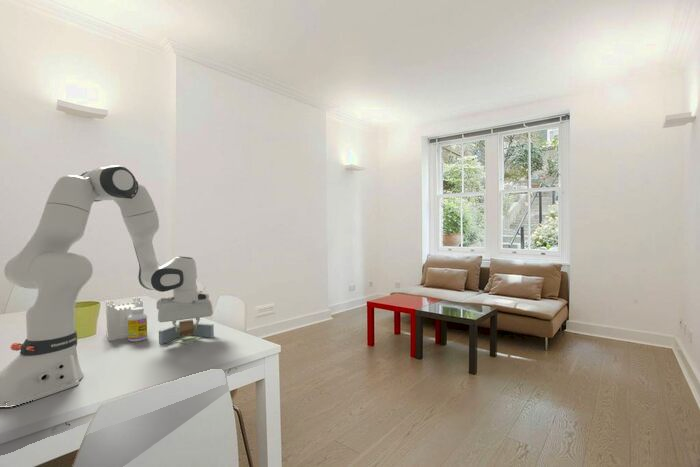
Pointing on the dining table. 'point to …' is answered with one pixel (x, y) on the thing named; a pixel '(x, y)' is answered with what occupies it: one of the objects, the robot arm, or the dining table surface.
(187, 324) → the walnut cube
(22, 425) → the dining table surface
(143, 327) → the supplement bottle
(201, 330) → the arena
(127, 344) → the dining table surface
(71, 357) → the robot arm
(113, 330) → the castle model
